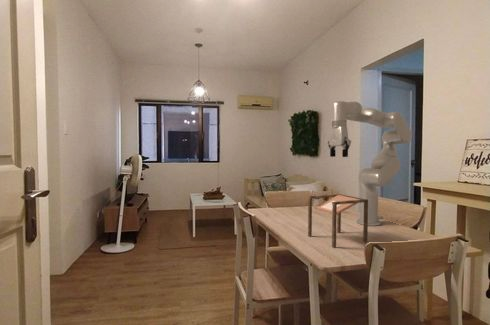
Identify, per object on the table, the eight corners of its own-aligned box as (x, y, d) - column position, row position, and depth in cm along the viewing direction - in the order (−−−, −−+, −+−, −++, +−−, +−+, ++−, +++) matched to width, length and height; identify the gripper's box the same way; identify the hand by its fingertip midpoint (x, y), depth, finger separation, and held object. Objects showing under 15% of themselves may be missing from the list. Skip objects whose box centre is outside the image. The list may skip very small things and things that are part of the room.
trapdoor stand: (338, 232, 150) (339, 194, 149) (367, 242, 133) (368, 199, 132) (308, 236, 143) (308, 196, 142) (333, 247, 126) (334, 202, 125)
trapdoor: (339, 196, 147) (338, 194, 147) (361, 201, 133) (361, 198, 133) (314, 208, 142) (314, 206, 141) (335, 215, 128) (335, 212, 128)
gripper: (323, 125, 164) (322, 156, 165) (344, 123, 149) (344, 157, 149) (334, 126, 167) (333, 156, 168) (356, 123, 151) (355, 157, 152)
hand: (338, 156), depth 159 cm, fingers open, 9 cm apart
